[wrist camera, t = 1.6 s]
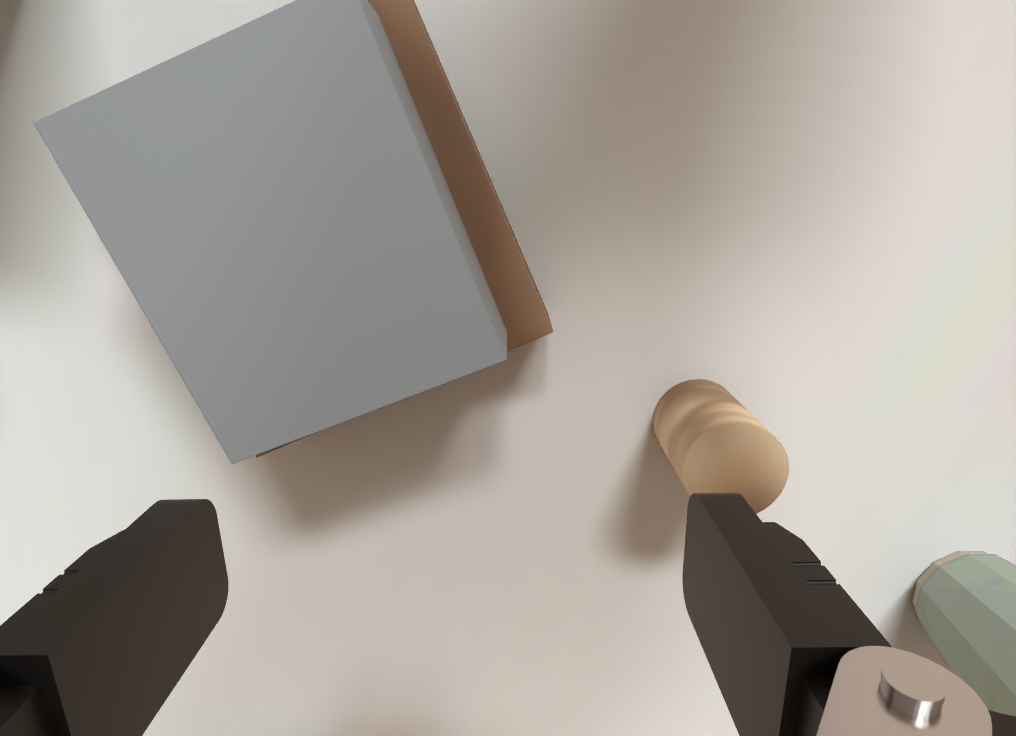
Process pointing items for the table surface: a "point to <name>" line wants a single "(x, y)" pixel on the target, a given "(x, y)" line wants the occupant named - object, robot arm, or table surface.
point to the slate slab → (283, 224)
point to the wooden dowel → (719, 444)
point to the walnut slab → (464, 176)
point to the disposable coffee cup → (973, 622)
